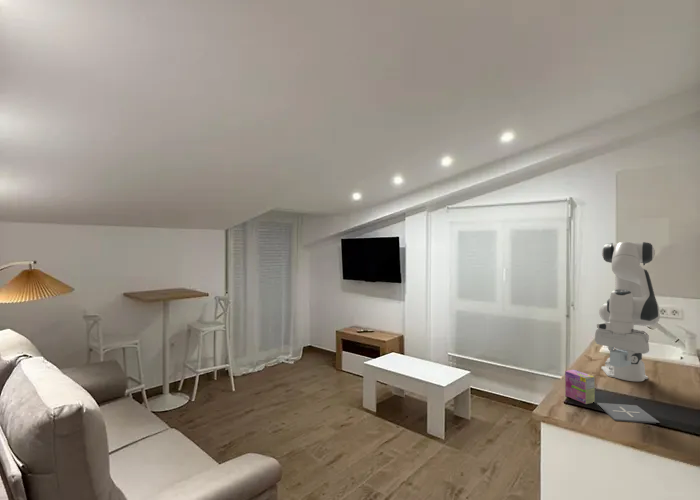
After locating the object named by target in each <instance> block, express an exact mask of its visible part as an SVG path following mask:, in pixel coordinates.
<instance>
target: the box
mask: <svg viewBox="0 0 700 500" xmlns="http://www.w3.org/2000/svg"><path fill="white" fill-rule="evenodd" d="M564 374H565V375H564V376H565V377H564V378H565V379H564V380H565V383H564V384H565V386H564V388H565V390H564V391H565V394H564V395H565V397H567V398H571V399H572V400H575V401H577V402H579V403H582V404H584V405H588V404H589V405H590V404H593V402H594V403H595V399H596V398H595V397H596V396H595V394H596V392H595V388H596V387H595V386H596V385H595V384H596V383H595V381H596V380H595V379H596V378H595V376H594V375H592V374H588V373H585V372H582V371H578V370H576V369H569V370H565V372H564Z"/></svg>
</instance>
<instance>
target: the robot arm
mask: <svg viewBox="0 0 700 500" xmlns="http://www.w3.org/2000/svg"><path fill="white" fill-rule="evenodd" d="M655 251H656V250H655V248H654V246H653V244H652V243H650V242H646V241H643V242H640V241H621V242H615V243H614V242H610V243H605V244H604V245H603V248H602V249H601V256H602V258H603V260H604V261H605V262H606V263H611V271H612V272H613V274H615V289H614V290H611V292H610V295H609V298H608V299H607V300H606V303H603V304H601V306H600V307H599V309H598V314H599V317H600V319H601V320H602V321H604V322H599V323H597V324H596V328H597V329H596V330H595V334H594V342H595V343H596V345H599V346H605V347H608V351H609V352H610V351H614V350H618V349H623V350H628V353H629V354H628V356H625V360H626V361H630V360H631V365H629V366H625V367H620V368H619V367H615V366H611V365H610V357H608V358H606V361H605V364H604V366H603V365H602V366H601V367H600V368H601V370H602V371H603V372H604V373H605V374H606V376H607V377H609V378H610V377H611V378H615V379H619V380H623V381H628V382H629V381H630V382H644V381H645V380H648V379H649V376H648V375H646V368H645V366H646V365H645V362H644V361H643V355H645V354H648V353H649V352H650V343H649V338H650V336H649V334H648V332H645V330H639V329H635V328H634V327H635V326H639V327H640V326H643V327H644V326H655V325H657V323H658V322H659V321H660V317H661V315H660V306H659V304H658V301H657V298H656V296H655V292H654V289H653V283H652V279H651V277H650V274H649V271H648V270H647V269H646V268H643V267H642V266H641V264H643V266H645V265H646V264H649V263H650V262H652V261H653V259H654V257H655V254H656V252H655Z"/></svg>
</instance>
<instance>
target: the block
mask: <svg viewBox="0 0 700 500" xmlns="http://www.w3.org/2000/svg"><path fill="white" fill-rule="evenodd" d="M613 350H614V349H613ZM628 354H629V353H628V350H623V349H618V350H614V351H609V358H610V365H611V366H615V367H619V368H620V367H625V366H629V365H631V360H630V361H626V360H625V356H628Z"/></svg>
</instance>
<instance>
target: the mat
mask: <svg viewBox="0 0 700 500" xmlns="http://www.w3.org/2000/svg"><path fill="white" fill-rule="evenodd" d="M595 405H597V406H598V405H599V406H600V407H601V408H602V409H603V410H604V413H605V414H607V416H609V417H610V418H611V419H612V420H613V421H617V422H628V423H629V422H630V423H632V422H633V423H643V424H656V423H660V424H661V422H660V421H659V420H657V419H656V418H655V417H653V416H652V415H651V414H649V413H648V412H646V411H645V410H644V409H642V408H641V407H640V406H638V405H637V404H625V403H623V404H622V403H608V402H607V403H606V402H596V403H595ZM599 406H598V407H599ZM600 407H599V408H600ZM601 408H600V409H601ZM602 409H601V410H602ZM603 410H602V411H603Z"/></svg>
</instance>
